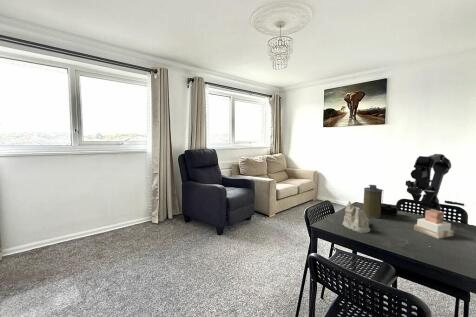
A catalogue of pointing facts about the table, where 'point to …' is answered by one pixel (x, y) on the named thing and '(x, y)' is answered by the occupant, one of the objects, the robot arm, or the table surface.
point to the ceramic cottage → (356, 219)
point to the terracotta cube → (434, 216)
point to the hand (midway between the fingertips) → (421, 203)
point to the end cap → (389, 210)
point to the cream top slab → (434, 225)
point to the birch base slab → (433, 233)
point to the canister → (372, 201)
